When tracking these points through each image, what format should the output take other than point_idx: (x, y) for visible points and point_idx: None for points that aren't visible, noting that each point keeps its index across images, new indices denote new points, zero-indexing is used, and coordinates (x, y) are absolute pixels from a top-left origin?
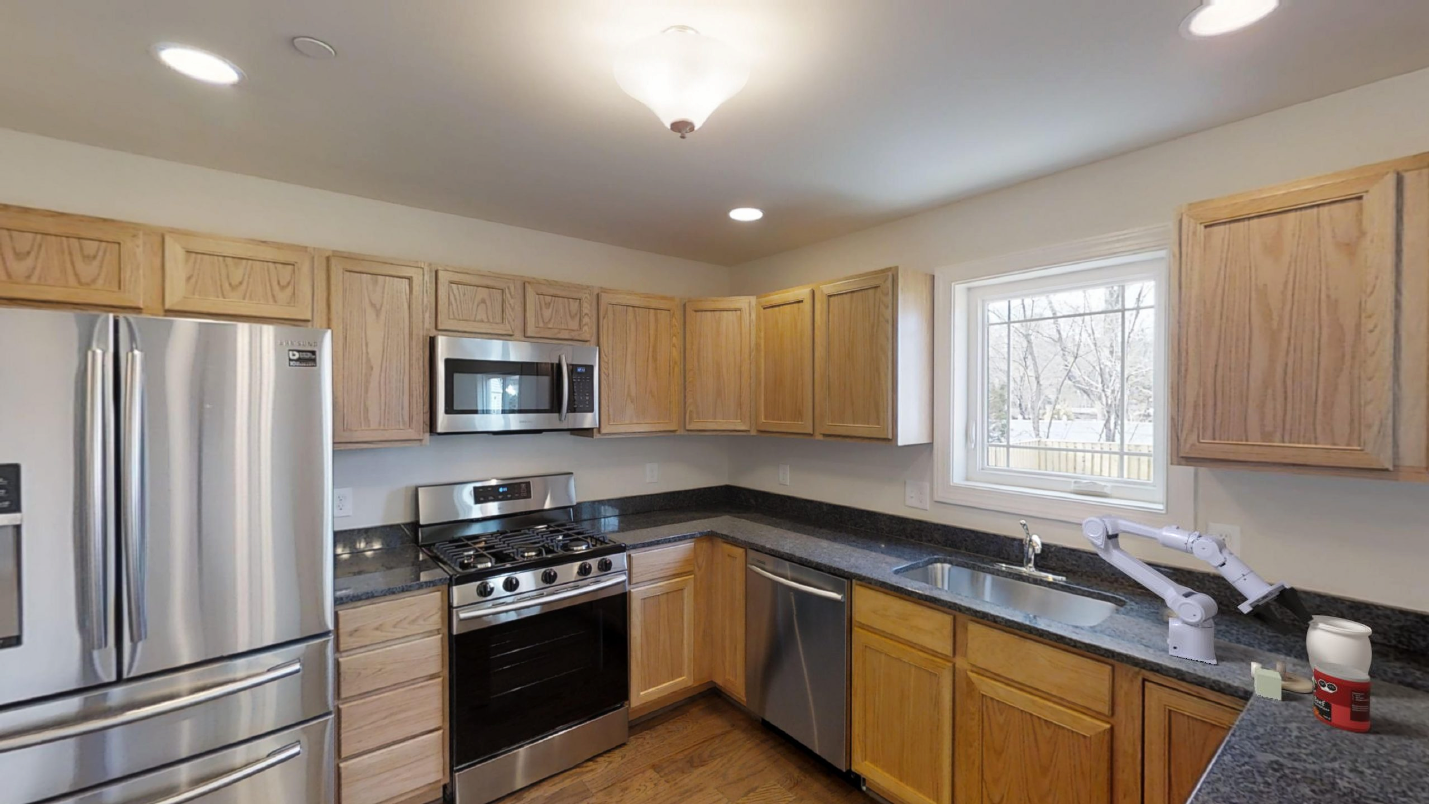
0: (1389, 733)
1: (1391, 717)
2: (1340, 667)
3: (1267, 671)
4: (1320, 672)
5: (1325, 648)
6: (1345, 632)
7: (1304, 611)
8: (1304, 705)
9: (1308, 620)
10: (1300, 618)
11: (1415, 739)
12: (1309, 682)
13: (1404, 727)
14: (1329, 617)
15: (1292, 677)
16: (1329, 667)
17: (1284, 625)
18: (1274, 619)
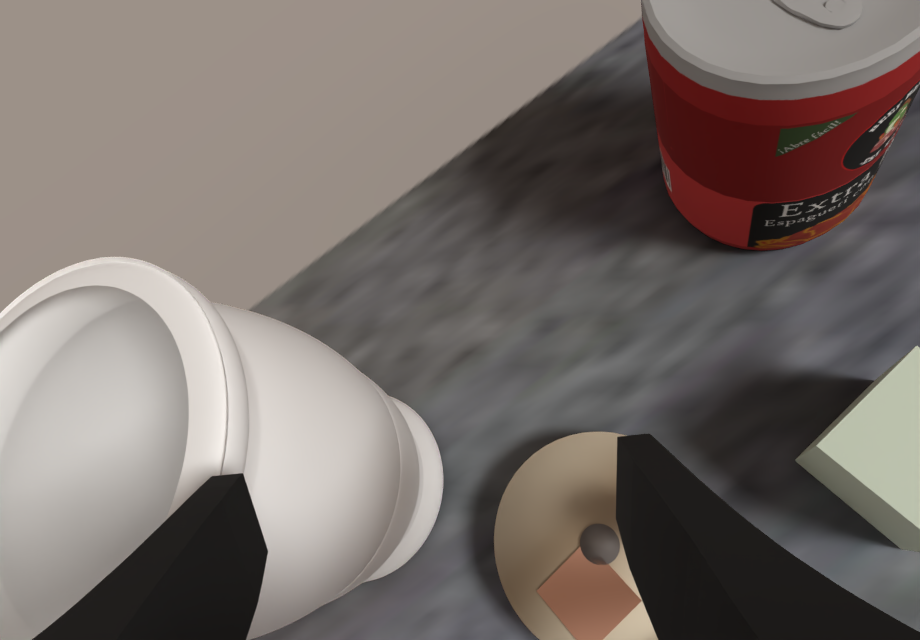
0: (628, 103)
1: (462, 220)
2: (712, 32)
3: (910, 467)
4: None
5: (350, 428)
6: (203, 296)
7: (194, 542)
8: (771, 326)
9: (248, 519)
10: (247, 607)
11: (574, 72)
12: (535, 468)
13: (507, 151)
14: None
15: (567, 541)
16: (823, 10)
17: (676, 482)
18: (797, 562)
